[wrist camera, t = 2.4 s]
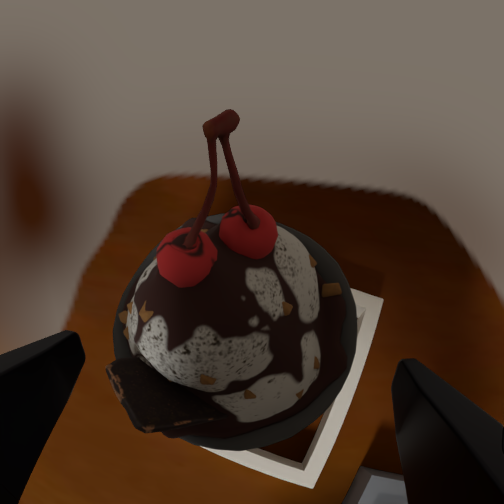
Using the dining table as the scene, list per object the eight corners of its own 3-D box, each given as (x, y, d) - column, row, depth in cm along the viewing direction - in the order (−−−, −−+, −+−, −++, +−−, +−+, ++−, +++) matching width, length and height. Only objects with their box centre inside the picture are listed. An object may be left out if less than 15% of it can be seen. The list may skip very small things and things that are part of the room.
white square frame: (309, 479, 14) (312, 488, 12) (139, 405, 16) (124, 404, 15) (374, 309, 18) (383, 299, 16) (212, 253, 20) (205, 238, 19)
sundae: (294, 292, 19) (307, 44, 5) (332, 400, 16) (518, 383, 2) (188, 325, 18) (11, 146, 5) (217, 434, 15) (7, 508, 2)
